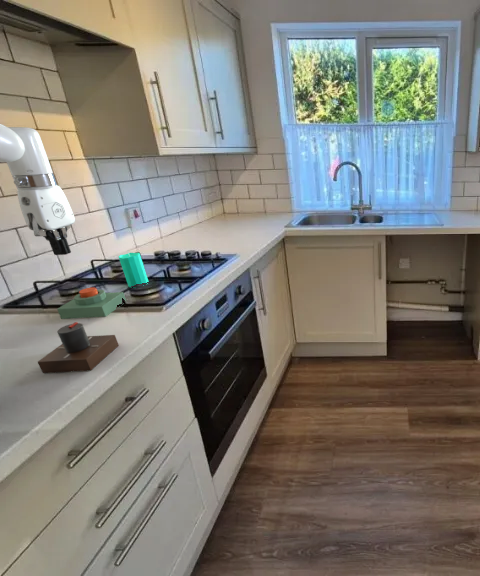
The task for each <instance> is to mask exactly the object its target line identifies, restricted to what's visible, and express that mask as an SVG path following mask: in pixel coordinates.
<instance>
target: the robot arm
mask: <svg viewBox="0 0 480 576" xmlns="http://www.w3.org/2000/svg"><path fill="white" fill-rule="evenodd" d="M0 163H6V165H7V167H8V169H9V172H10V174H11V177H12V179H13V183H14V185H15V187H16V193H17V200H18V204H19V207H20V211H21V213H22V217H23V219H24V221H25V224H26V226H27V228H28V229H29V230H30V231H33V236H35V237H42V238H44V239H45V240H46V241H47V242H49V245H50V248H51V251H52V252H53V255H55V256H64V255H66V256H67V255H68V254H71V253H72V251H71V248H70V245H69V241H68V240H67V238H68V230H70V229H71V228H72V226H73V224H75V222H76V217H75V215H74V212H73V209H72V207H71V205H70V202H69V201H68V200H69V199H68V198H67V196H66V194H65V193H64V191H63V190H62V188H61V187H60V185H58V183H57V180H56V177H55V174H54V172H53V169H52V166H51V163H50V160H49V158H48V155H47V152H46V149H45V147H44V143H43V141H42V138H41V135H40V133H39V132H38V130H36V129H35V128H32V127H26V126H24V127H22V126H7V125H4V124H2V123H0Z"/></svg>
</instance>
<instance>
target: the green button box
mask: <svg viewBox="0 0 480 576" xmlns="http://www.w3.org/2000/svg"><path fill="white" fill-rule="evenodd" d="M97 291H98V294H97V295H95V296H92V297H87V298H81V296H80V293H78V294H76V295H75V296H73V299H71V300H69V301H68V302H67V303H64V304H62V305H60V307H58V308H56V310H57V313H58V315H59V317H60V319H61V320H66V319H87V318H89V319H90V318H106V317H107V316H109V315H110V314H112V313H113V312H114V311H116V310H117V309H116V307H117V305H119V304H121V303H122V298H123V299H124V300H125V301H126V302H127V298H126V296H125V293H124V291H117V292H116V291H115V292H113V291H112V292H105V290H104V289H97Z"/></svg>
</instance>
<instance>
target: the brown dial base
mask: <svg viewBox="0 0 480 576" xmlns="http://www.w3.org/2000/svg"><path fill="white" fill-rule="evenodd" d="M87 337H88V339H89V341H90V345H89V346H88V347H87V348H85V349H83V350H81V351H78V352H72V353H68V352H66V350H65V348H64V346H63V344H62V343H61V344H60V345H58V346H57V347H55V348H54V349H53V350H52V351H50V352H49V353H47V354H46V355H45V356H43V357H42V358H40V359H38V361H37V365H38V366H39V368H40V371H41V372H42V374H53V373H54V374H55V372H56V373H70V372H71V371H72V372H88V371H87V370H90V371H92V370H93V369H94V368H95V367H96V366H98V365H99V364H100V363H102V361H103V360H105V358H107V357H108V356H109V355H110V354H111V353H112V352H113V351H114V350H115V349H116V348H118V347H119V345H120V344H119V343H118V339H117V337H116V335H115V334H106V335H103V334H102V335H87Z"/></svg>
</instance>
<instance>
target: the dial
mask: <svg viewBox="0 0 480 576" xmlns="http://www.w3.org/2000/svg"><path fill="white" fill-rule="evenodd" d="M56 332H57V335H58V337H59V339H60V341H61V344H63V346H64V348H65V350H66V352H68V353H72V352H78V351H81V350H83V349H85V348H87V347H88V346H89V345H90V341H89V339H88V337H87V336H88V334H87V332H86V329H85V327H84V324H82V323H80V322H78V321H74V322H73V323H70V324H67V325H64V326H61V327H60V328H58V329H57V331H56Z"/></svg>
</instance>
